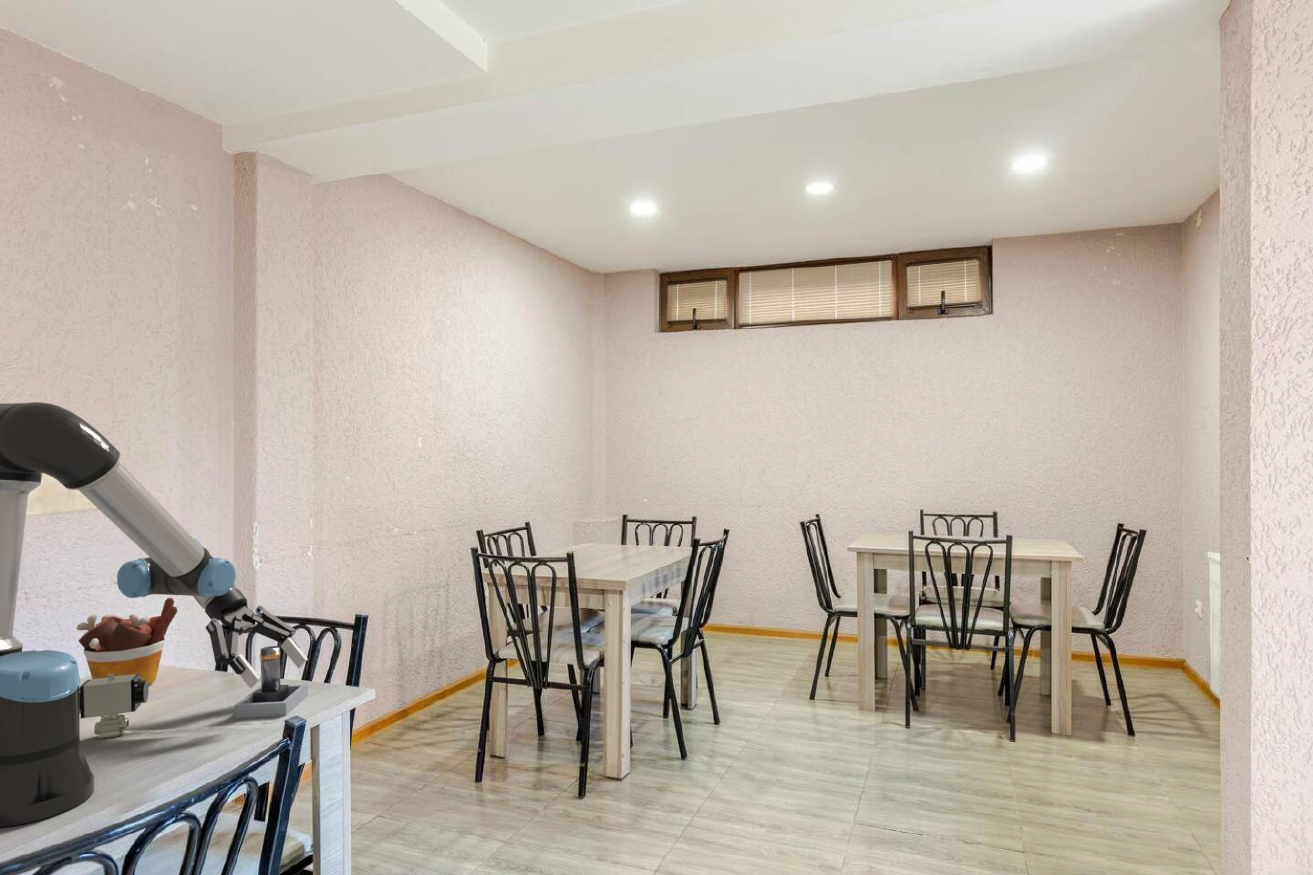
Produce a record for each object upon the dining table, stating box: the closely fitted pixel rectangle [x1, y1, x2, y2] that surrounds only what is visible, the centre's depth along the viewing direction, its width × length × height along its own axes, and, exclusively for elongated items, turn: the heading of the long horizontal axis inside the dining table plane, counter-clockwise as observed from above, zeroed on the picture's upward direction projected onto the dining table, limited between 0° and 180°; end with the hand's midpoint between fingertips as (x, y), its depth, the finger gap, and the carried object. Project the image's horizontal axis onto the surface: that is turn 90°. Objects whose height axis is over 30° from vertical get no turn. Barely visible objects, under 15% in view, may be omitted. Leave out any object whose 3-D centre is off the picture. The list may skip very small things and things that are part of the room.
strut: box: [253, 645, 290, 703], centre depth 160 cm, size 5×5×13 cm
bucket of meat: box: [76, 597, 178, 686], centre depth 181 cm, size 20×16×20 cm
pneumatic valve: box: [79, 674, 150, 740], centre depth 151 cm, size 6×12×12 cm, turn 112°
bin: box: [234, 683, 309, 726], centre depth 161 cm, size 12×10×4 cm
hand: (280, 673), depth 160 cm, fingers open, 13 cm apart
